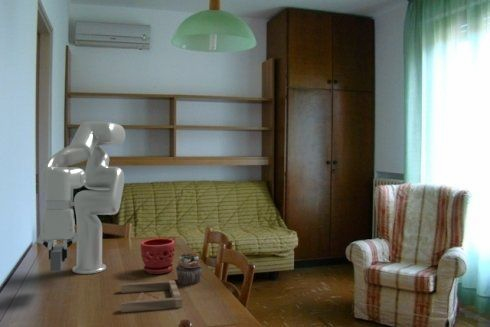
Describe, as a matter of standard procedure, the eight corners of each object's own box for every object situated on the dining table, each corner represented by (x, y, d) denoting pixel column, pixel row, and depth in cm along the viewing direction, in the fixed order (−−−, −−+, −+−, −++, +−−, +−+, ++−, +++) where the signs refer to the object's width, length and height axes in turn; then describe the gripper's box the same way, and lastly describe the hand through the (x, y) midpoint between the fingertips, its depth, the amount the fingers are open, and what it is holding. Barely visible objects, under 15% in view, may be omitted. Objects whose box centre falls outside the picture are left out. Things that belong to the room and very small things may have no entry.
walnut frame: (120, 291, 149) (120, 283, 149) (174, 287, 154) (174, 280, 154) (121, 312, 130) (121, 304, 130) (182, 307, 135) (182, 299, 135)
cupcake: (207, 281, 162) (207, 254, 162) (187, 287, 155) (187, 258, 154) (190, 276, 168) (190, 250, 168) (170, 281, 161) (170, 254, 161)
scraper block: (55, 261, 151) (55, 244, 151) (65, 261, 152) (65, 243, 152) (50, 270, 140) (50, 252, 139) (60, 270, 140) (60, 251, 140)
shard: (142, 296, 146) (142, 290, 146) (165, 296, 146) (165, 291, 146) (133, 307, 135) (133, 302, 135) (158, 308, 135) (158, 302, 135)
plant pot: (156, 265, 183) (156, 236, 183) (181, 270, 176) (181, 240, 176) (133, 272, 172) (133, 242, 171) (159, 278, 165) (159, 246, 165)
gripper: (85, 203, 151) (84, 257, 152) (33, 204, 147) (33, 259, 147) (83, 206, 144) (83, 262, 144) (29, 207, 140) (28, 265, 140)
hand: (58, 260), depth 146 cm, fingers closed on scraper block, 2 cm apart
